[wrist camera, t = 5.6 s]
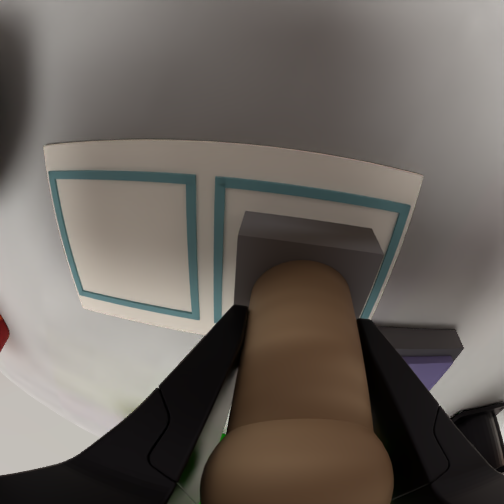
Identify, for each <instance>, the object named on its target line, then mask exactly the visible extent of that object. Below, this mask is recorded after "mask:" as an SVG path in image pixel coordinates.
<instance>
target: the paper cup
mask: <svg viewBox="0 0 504 504" xmlns="http://www.w3.org/2000/svg"><path fill="white" fill-rule="evenodd" d="M8 337H9V330H8V327H7V325H6V323H5V322H4V320H3V318H2V317H1V315H0V352H1V350H2V348H3V346H4V345H5V343H6V341H7V339H8Z"/></svg>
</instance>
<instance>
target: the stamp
mask: <svg viewBox="0 0 504 504" xmlns="http://www.w3.org/2000/svg"><path fill="white" fill-rule="evenodd" d="M383 257H384V253H383V251H382V249H381V246H380V244H379V242H378V240H377V238H376V236H375V234H374V232H373V230H372V228H365V227H359V226H353V225H346V224H340V223H333V222H326V221H319V220H312V219H305V218H298V217H291V216H283V215H275V214H267V213H259V212H251V211H245V213H244V217H243V220H242V223H241V226H240V229H239V233H238V239H237V255H236V272H235V289H234V304H238V305H245V306H248V317H247V322H246V328H245V334H244V339H243V345H242V350H241V355H240V360H239V366H238V371H237V377H236V382H235V388H234V394H233V399H232V405H231V410H230V416H229V421H228V427H227V432H226V436H225V437H224V438H223V439H222V440H221V441H220V442H219V443H218V444H217V446H216V447H215V449H214V450H213V452H212V453H211V455H210V456H209V458H208V460H207V462H206V464H205V466H204V469H203V473H202V476H201V482H200V502H201V504H390V502H391V499H392V494H393V488H394V474H393V468H392V463H391V460H390V457H389V455H388V453H387V451H386V449H385V447H384V445H383V443H382V442H381V441H380V439H379V438H378V437H377V436H376V434H375V433H374V431H373V422H372V414H371V406H370V398H369V391H368V384H367V378H366V371H365V365H364V359H363V354H362V348H361V342H360V337H359V332H358V327H357V322H356V319H358V318H359V317H360V315H361V312H362V310H363V308H364V305H365V303H366V300H367V298H368V296H369V293H370V291H371V288H372V286H373V283H374V281H375V278H376V275H377V273H378V270H379V268H380V265H381V262H382V259H383Z"/></svg>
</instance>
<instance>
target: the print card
mask: <svg viewBox="0 0 504 504" xmlns="http://www.w3.org/2000/svg"><path fill="white" fill-rule="evenodd" d="M43 150H44V158H45V165H46V172H47V178H48V184H49V189H50V195H51V200H52V205H53V209H54V214H55V218H56V222H57V227H58V231H59V235H60V238H61V242H62V246H63V249H64V253H65V256H66V260H67V263H68V266H69V269H70V273H71V276H72V279H73V282H74V285H75V288H76V290H77V293H78V296H79V299H80V302H81V304H82V307H83V308H84V309H88V310H91V311H95V312H99V313H103V314H107V315H111V316H115V317H119V318H123V319H127V320H132V321H136V322H140V323H145V324H150V325H154V326H159V327H164V328H169V329H174V330H179V331H184V332H190V333H195V334H201V335H206V334H207V333H208V332H209V331H210V330H211V329H212V327H213V326H214V325H215V324H216V323H217V322H218V321H219V320H220V319H221V318H222V316H223V315H224V314H225V313H226V312H227V311H228V310H229V309H230V308H231V306H232V305H234V289H235V272H236V255H237V239H238V233H239V229H240V226H241V223H242V220H243V217H244V213H245V211H251V212H259V213H267V214H275V215H283V216H291V217H298V218H305V219H312V220H319V221H326V222H333V223H340V224H346V225H353V226H359V227H365V228H372V230H373V232H374V234H375V236H376V238H377V240H378V242H379V244H380V246H381V249H382V251H383V253H384V257H383V259H382V262H381V265H380V268H379V270H378V273H377V275H376V278H375V281H374V283H373V286H372V288H371V291H370V293H369V296H368V298H367V300H366V303H365V305H364V308H363V310H362V312H361V315H360V317H359V318H364V319H370V320H371V318H372V316H373V314H374V312H375V310H376V308H377V305H378V303H379V301H380V299H381V296H382V294H383V292H384V289H385V287H386V285H387V282H388V280H389V277H390V275H391V272H392V270H393V267H394V265H395V262H396V260H397V257H398V254H399V252H400V249H401V246H402V244H403V241H404V238H405V235H406V232H407V229H408V226H409V223H410V220H411V217H412V214H413V211H414V208H415V205H416V201H417V198H418V195H419V191H420V188H421V184H422V181H423V176H422V175H421V174H417V173H413V172H409V171H405V170H401V169H397V168H393V167H388V166H384V165H379V164H375V163H370V162H365V161H360V160H355V159H350V158H344V157H339V156H333V155H327V154H321V153H315V152H308V151H302V150H294V149H287V148H279V147H270V146H261V145H251V144H240V143H228V142H213V141H194V140H157V139H138V140H102V141H84V142H70V143H59V144H49V145H45V146H43Z"/></svg>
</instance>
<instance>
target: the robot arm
mask: <svg viewBox="0 0 504 504" xmlns="http://www.w3.org/2000/svg"><path fill="white" fill-rule="evenodd" d="M247 317H248V306H245V305H238V304H234V305H232V306H231V308H230V309H229V310H228V311H227V312H226V313H225V314H224V315H223V316H222V318H221V319H220V320H219V321H218V322H217V323H216V324H215V325H214V326H213V327H212V329H211V330H210V331H209V332H208V333H207V334H206V335H205V336H204V337H203V338H202V339H201V341H200V342H199V343H198V344H197V345H196V346H195V347H194V348H193V349H192V350H191V351H190V353H189V354H188V355H187V356H186V357H185V358H184V359H183V360H182V361H181V362H180V363H179V364H178V366H177V367H176V368H175V369H174V370H173V371H172V372H171V373H170V374H169V375H168V376H167V377H166V378H165V380H164V381H163V382H162V383H161V384H160V385H159V388H156V389H155V390H154V391H153V392H152V393H151V394H150V395H149V396H148V397H147V398H146V399H145V400H144V401H143V402H142V403H141V404H140V405H139V406H138V407H137V408H136V409H135V410H134V411H133V412H132V413H131V414H130V415H128V416H127V417H126V418H125V419H124V420H122V421H121V422H120V423H119V424H118V425H116V426H115V427H114V428H113V429H111V430H110V431H109V432H107V433H106V434H105V435H104V436H102V437H101V438H100V439H99V440H97V441H96V442H95V443H93V444H92V445H91V446H89V447H88V448H87V449H85V450H84V451H82V452H81V453H80V454H78V455H76V456H75V457H73V458H71V459H69V460H67V461H64V462H62V463H59V464H55V465H51V466H47V467H43V468H38V469H34V470H29V471H24V472H18V473H13V474H7V475H1V476H0V504H199V503H200V482H201V476H202V473H203V469H204V466H205V464H206V462H207V460H208V458H209V456H210V455H211V453H212V452H213V450H214V449H215V447H216V446H217V444H218V443H219V442H220V439H221V436H222V433H223V429H224V426H225V423H226V420H227V417H228V413H229V410H230V407H231V404H232V399H233V394H234V388H235V382H236V377H237V371H238V366H239V360H240V355H241V350H242V345H243V339H244V334H245V328H246V322H247ZM356 322H357V327H358V332H359V337H360V342H361V348H362V354H363V359H364V365H365V371H366V378H367V384H368V391H369V398H370V406H371V414H372V422H373V431H374V433H375V434H376V436H377V437H378V438H379V439H380V441H381V442H382V443H383V445H384V447H385V449H386V451H387V453H388V455H389V457H390V460H391V463H392V468H393V474H394V488H393V494H392V499H391V502H390V504H504V443H503V439H502V435H501V431H500V428H499V424H498V421H497V417H496V415H497V414H498V413H499V412H500V411H502V410H503V409H504V402H503V403H499V404H495V405H491V406H487V407H483V408H479V409H474V410H469V411H464V412H461V413H459V414H458V415H456V416H455V417H454V418H453V419H452V420H451V419H450V418H449V417H448V415H447V414H446V413H445V411H444V410H443V409H442V407H441V406H439V404H438V402H437V401H436V400H435V398H434V397H433V396H432V394H431V393H430V392H429V390H428V389H427V388H426V387H425V385H424V384H423V383H422V381H421V380H420V379H419V378H418V376H417V375H416V374H415V373H414V371H413V370H412V369H411V368H410V366H409V365H408V364H407V363H406V361H405V360H404V359H403V358H402V356H401V355H400V354H399V353H398V351H397V350H396V349H395V348H394V347H393V345H392V344H391V343H390V342H389V341H388V339H387V338H386V337H385V336H384V334H383V333H382V332H381V331H380V330H379V328H378V327H377V326H376V325H375V324H374V323H373V321H372V320H370V319H364V318H358V319H356Z"/></svg>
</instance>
